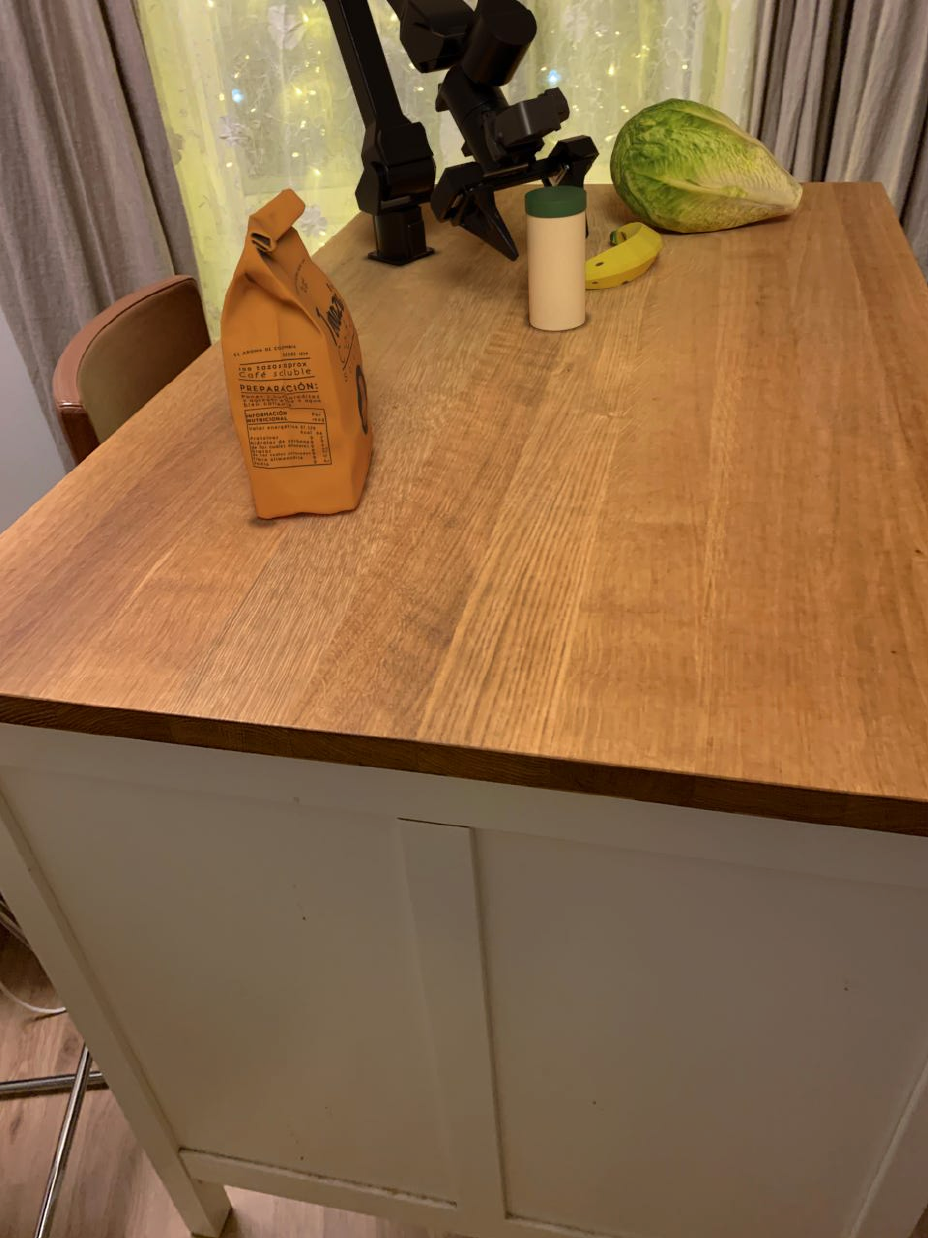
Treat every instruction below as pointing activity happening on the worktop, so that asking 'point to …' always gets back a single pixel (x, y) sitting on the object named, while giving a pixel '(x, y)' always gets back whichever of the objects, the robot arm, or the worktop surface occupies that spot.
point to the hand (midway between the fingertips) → (551, 248)
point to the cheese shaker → (556, 256)
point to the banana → (623, 257)
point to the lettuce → (697, 170)
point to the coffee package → (294, 373)
